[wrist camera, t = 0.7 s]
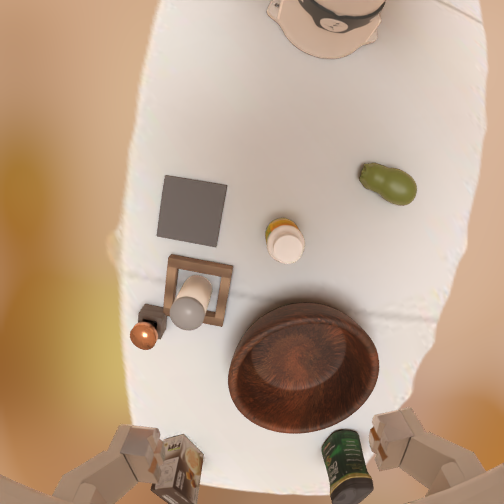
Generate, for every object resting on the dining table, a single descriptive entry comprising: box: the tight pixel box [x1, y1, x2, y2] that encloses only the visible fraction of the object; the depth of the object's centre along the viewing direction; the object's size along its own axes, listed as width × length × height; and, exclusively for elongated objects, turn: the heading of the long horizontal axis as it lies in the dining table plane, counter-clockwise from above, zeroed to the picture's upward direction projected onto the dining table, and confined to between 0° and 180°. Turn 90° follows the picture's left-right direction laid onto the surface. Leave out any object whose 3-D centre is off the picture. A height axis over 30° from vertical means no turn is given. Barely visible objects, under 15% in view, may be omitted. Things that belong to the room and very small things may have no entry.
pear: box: [359, 163, 417, 206], centre depth 47 cm, size 6×5×10 cm
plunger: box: [130, 320, 158, 350], centre depth 51 cm, size 4×4×5 cm
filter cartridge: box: [170, 275, 212, 330], centre depth 50 cm, size 5×5×10 cm
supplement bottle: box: [265, 218, 305, 264], centre depth 47 cm, size 5×5×10 cm
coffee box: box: [151, 435, 204, 504], centre depth 58 cm, size 9×6×16 cm
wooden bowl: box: [228, 303, 379, 434], centre depth 53 cm, size 25×25×10 cm
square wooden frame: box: [138, 254, 233, 339], centre depth 53 cm, size 14×14×4 cm
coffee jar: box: [322, 430, 373, 504], centre depth 56 cm, size 10×8×19 cm
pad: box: [157, 176, 227, 247], centre depth 51 cm, size 10×10×1 cm
